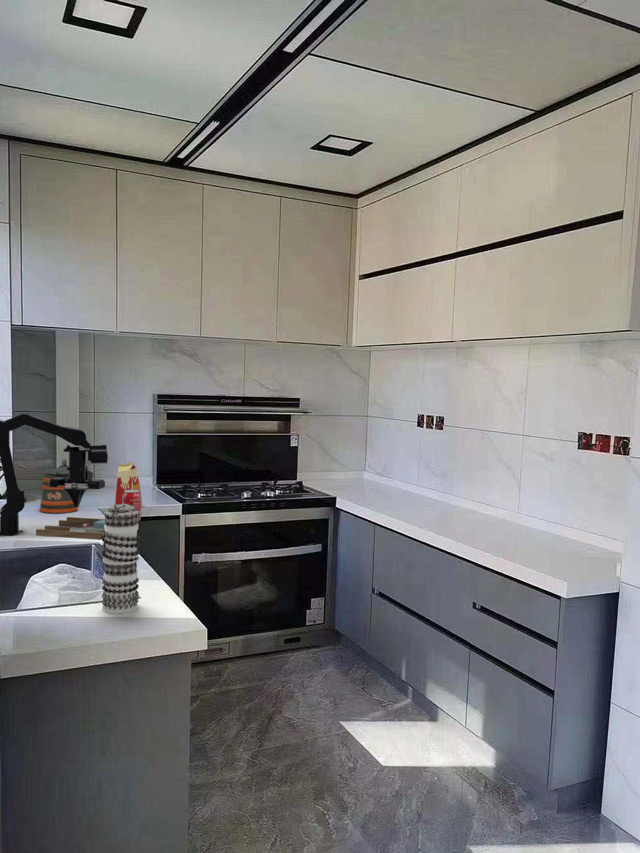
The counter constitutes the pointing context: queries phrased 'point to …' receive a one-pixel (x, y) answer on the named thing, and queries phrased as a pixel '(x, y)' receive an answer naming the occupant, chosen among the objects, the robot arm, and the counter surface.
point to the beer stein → (56, 493)
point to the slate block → (99, 524)
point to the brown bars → (65, 531)
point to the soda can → (133, 500)
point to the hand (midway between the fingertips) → (77, 507)
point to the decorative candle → (120, 559)
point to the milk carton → (126, 481)
